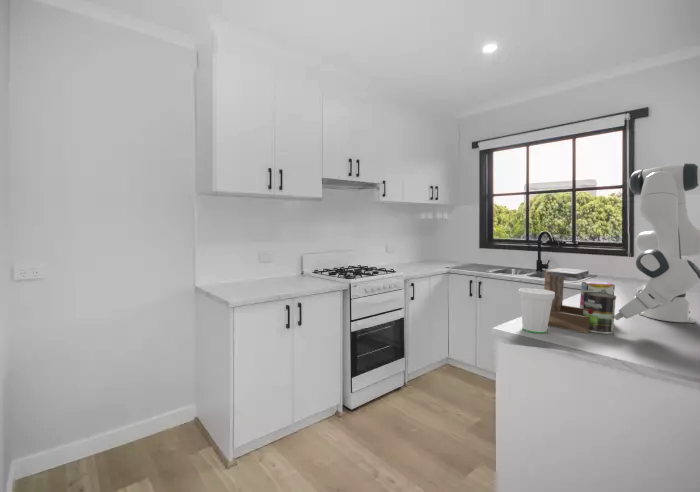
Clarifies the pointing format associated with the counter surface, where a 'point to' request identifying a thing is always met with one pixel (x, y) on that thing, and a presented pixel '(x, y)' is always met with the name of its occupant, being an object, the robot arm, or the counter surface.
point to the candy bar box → (595, 289)
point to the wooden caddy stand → (561, 313)
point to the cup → (535, 309)
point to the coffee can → (599, 311)
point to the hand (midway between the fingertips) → (615, 318)
